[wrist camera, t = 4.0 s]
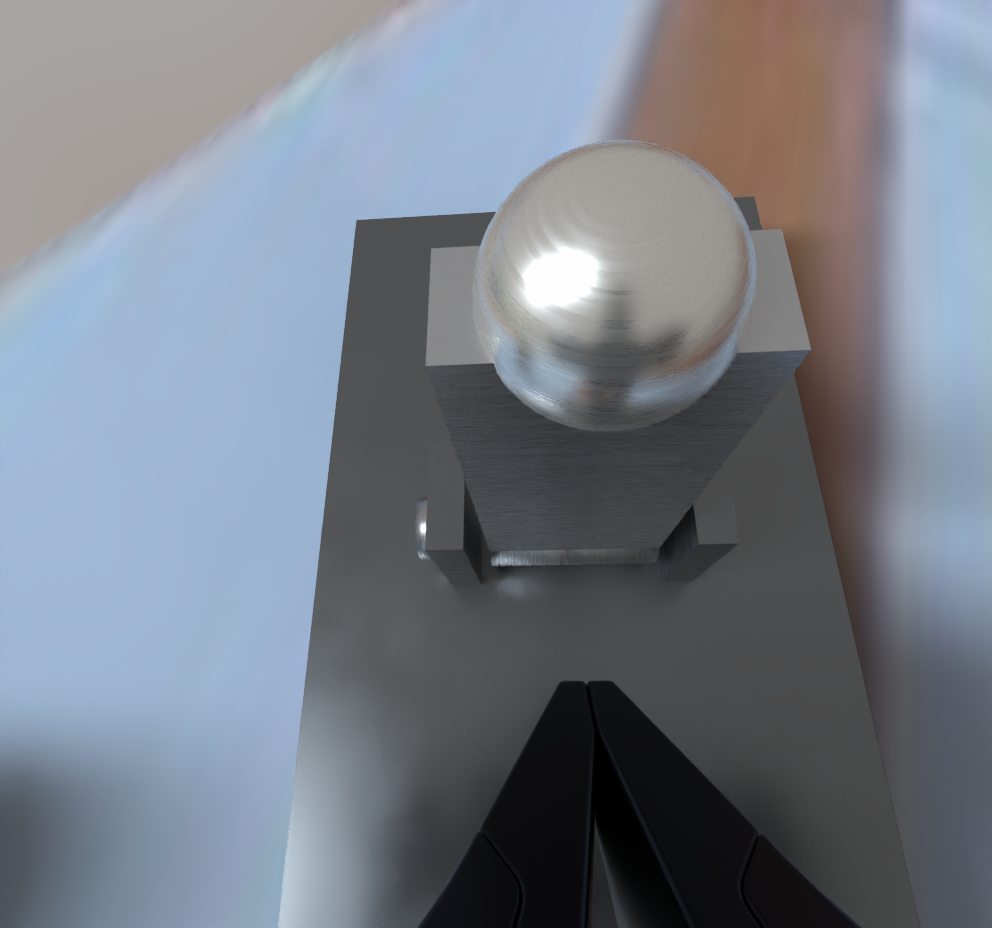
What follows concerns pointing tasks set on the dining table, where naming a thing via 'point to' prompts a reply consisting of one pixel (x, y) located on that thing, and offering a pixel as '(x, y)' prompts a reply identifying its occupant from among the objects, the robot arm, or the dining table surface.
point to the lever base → (559, 641)
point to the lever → (607, 351)
